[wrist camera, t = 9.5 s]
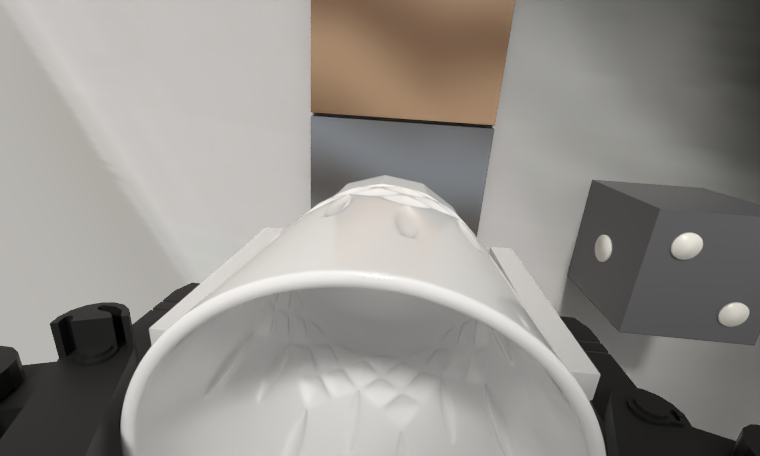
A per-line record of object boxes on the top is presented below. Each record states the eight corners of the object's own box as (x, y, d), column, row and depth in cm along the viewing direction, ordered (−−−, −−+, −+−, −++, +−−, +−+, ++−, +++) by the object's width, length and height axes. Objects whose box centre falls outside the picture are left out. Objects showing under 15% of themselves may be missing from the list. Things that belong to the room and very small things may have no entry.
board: (313, -106, 17) (311, -111, 17) (528, -97, 17) (532, -103, 16) (312, 392, 27) (310, 397, 27) (447, 407, 27) (447, 413, 26)
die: (589, 179, 21) (659, 209, 15) (701, 187, 20) (816, 222, 15) (565, 274, 23) (618, 333, 17) (666, 283, 22) (755, 346, 17)
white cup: (260, 264, 16) (48, 497, 7) (368, 116, 14) (281, 145, 4) (400, 362, 17) (392, 680, 8) (522, 241, 15) (726, 484, 5)
